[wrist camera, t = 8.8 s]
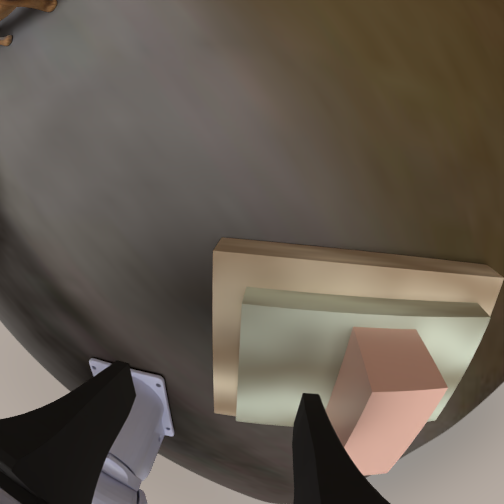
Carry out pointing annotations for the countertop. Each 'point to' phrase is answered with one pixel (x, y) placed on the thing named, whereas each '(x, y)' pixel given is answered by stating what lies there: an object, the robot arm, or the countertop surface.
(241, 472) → the countertop surface
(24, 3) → the lion figurine
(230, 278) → the tower base
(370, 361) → the terracotta brick
